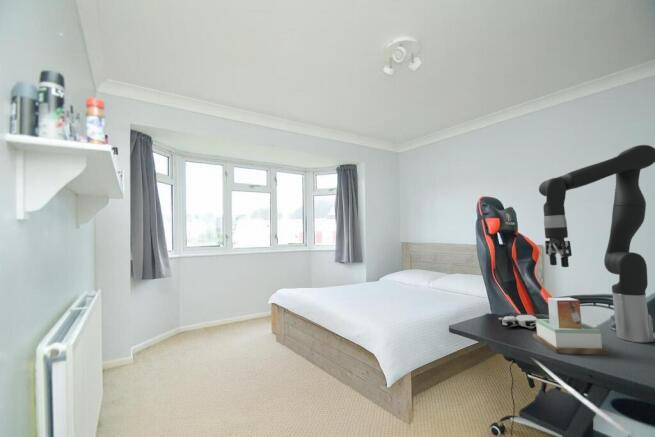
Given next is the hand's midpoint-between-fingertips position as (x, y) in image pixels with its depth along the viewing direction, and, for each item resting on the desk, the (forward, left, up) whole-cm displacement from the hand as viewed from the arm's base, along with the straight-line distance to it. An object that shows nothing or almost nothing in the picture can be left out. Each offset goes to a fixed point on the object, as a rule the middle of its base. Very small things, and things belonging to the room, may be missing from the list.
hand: (559, 266), depth 124 cm
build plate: (+5, +11, -28) cm, 31 cm away
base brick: (+5, +11, -27) cm, 29 cm away
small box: (+5, +11, -22) cm, 25 cm away
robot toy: (+12, -13, -28) cm, 34 cm away
